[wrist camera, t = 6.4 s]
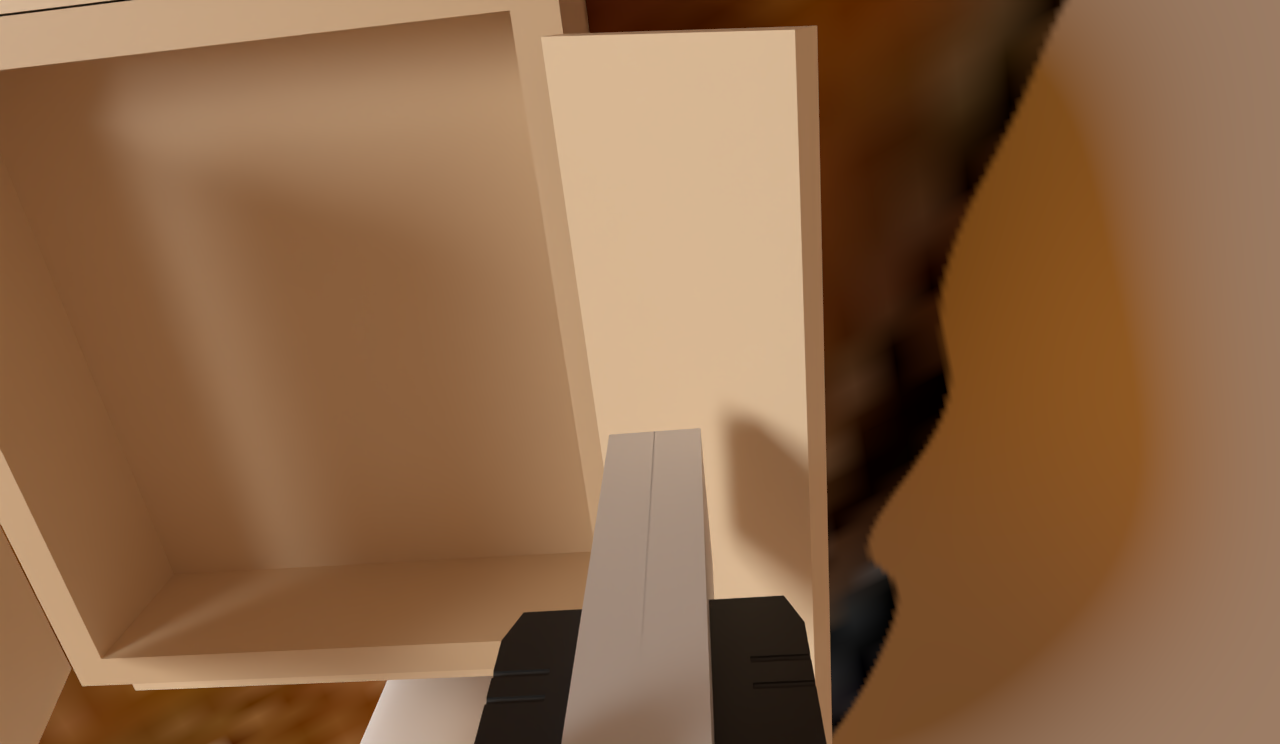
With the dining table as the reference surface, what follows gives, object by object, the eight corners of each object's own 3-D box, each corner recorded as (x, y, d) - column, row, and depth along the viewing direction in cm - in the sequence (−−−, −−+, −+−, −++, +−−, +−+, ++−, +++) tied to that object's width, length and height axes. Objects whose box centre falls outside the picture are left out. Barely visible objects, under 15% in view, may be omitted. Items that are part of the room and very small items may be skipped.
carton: (-75, 17, 22) (-248, 28, 18) (581, -65, 20) (553, -73, 16) (169, 596, 30) (86, 695, 26) (659, 570, 28) (653, 671, 24)
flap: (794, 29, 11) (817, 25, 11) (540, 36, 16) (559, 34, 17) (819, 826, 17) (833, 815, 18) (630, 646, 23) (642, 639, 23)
